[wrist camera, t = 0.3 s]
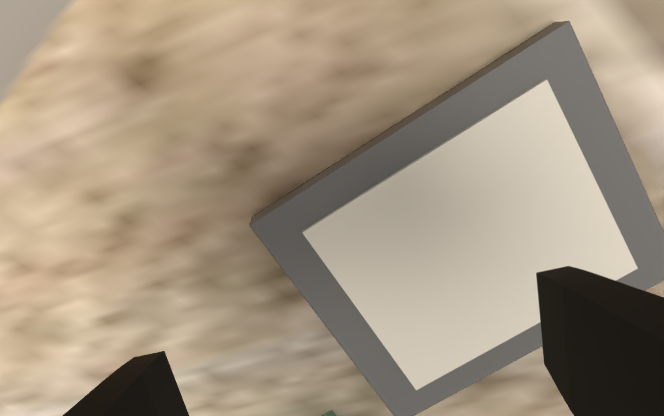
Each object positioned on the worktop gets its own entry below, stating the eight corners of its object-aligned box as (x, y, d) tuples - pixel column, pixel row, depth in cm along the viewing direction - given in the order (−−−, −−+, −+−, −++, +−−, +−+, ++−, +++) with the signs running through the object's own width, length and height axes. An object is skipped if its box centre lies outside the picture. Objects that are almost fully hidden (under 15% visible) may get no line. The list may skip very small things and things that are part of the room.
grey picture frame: (664, 260, 20) (685, 272, 19) (395, 407, 22) (400, 426, 21) (555, 22, 17) (572, 20, 16) (252, 216, 19) (248, 227, 18)
